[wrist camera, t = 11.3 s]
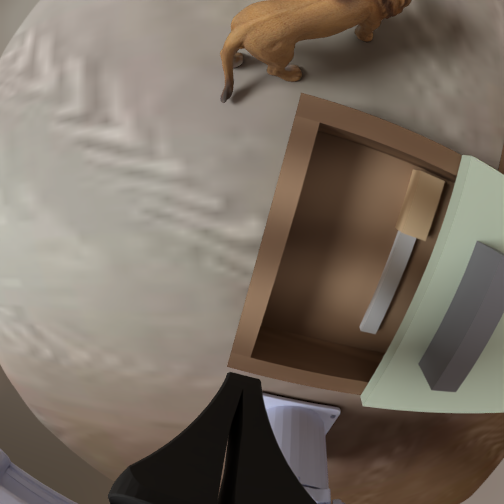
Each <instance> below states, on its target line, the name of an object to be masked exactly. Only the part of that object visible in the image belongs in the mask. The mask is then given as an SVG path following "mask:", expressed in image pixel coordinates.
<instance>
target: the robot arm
mask: <svg viewBox="0 0 504 504" xmlns="http://www.w3.org/2000/svg"><path fill="white" fill-rule="evenodd" d="M340 413H341V411H340V408H338V407H333V406H327V405H321V404H315V403H309V402H304V401H299V400H294V399H289V398H284V397H279V396H275V395H270V394H266V393H262V387H261V381H260V380H259V379H256V378H252V377H248V376H244V375H240V374H236V373H232V372H229V373H227V376H226V378H225V380H224V382H223V384H222V386H221V388H220V389H219V391H218V392H217V394H216V395H215V397H214V398H213V399H212V401H211V402H210V403H209V405H208V406H207V407H206V408H205V409H204V410H203V412H202V413H201V414H200V415H199V416H198V417H197V418H196V419H195V420H194V421H193V422H192V423H191V424H190V425H189V426H188V427H187V428H186V429H185V430H184V431H182V432H181V433H180V434H179V435H178V436H176V437H175V438H174V439H173V440H171V441H170V442H169V443H167V444H166V445H164V446H163V447H161V448H160V449H158V450H157V451H155V452H154V453H152V454H151V455H149V456H147V457H145V458H143V459H142V460H140V461H138V462H136V463H134V464H132V465H130V466H129V467H128V468H127V469H126V470H125V471H124V472H123V473H122V474H121V475H120V476H119V477H118V478H117V479H116V481H115V482H114V484H113V486H112V488H111V490H110V492H109V494H108V498H109V501H110V504H331V497H330V489H329V487H328V469H327V453H326V439H325V435H326V434H327V432H328V431H329V430H330V428H331V427H332V425H333V424H334V422H335V421H336V419H337V418H338V416H339V415H340ZM228 435H229V436H228ZM227 441H228V444H227ZM226 446H227V453H226V461H225V469H224V475H223V479H222V484H221V488H220V492H219V487H220V481H221V475H222V469H223V463H224V457H225V452H226ZM218 494H219V496H218ZM0 504H77V503H75V502H74V501H72V500H70V499H68V498H66V497H64V496H62V495H61V494H59V493H57V492H56V491H54V490H52V489H51V488H49V487H47V486H46V485H44V484H43V483H41V482H39V481H38V480H36V479H35V478H33V477H32V476H30V475H28V474H27V473H26V472H24V471H23V470H22V469H20V468H19V467H17V466H16V465H15V464H13V463H12V462H11V461H10V459H9V457H8V456H7V455H6V454H5V453H4V452H3V451H2V450H1V449H0ZM333 504H345V503H344V502H342V501H341V500H340V499H334V500H333Z"/></svg>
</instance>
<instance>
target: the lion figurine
mask: <svg viewBox="0 0 504 504" xmlns="http://www.w3.org/2000/svg"><path fill="white" fill-rule="evenodd" d="M411 1H412V0H268V1H261V2H257V3H253V4H251V5H249V6H247V7H246V8H245V9H243V10H242V11H241V12H239V13H238V14H237V15H236V16H235V17H234V18H233V20H232V23H231V33H230V34H229V36H228V37H227V39H226V41H225V43H224V46H223V49H222V50H221V52H220V55H221V60H222V66H223V70H224V74H225V88H224V90H223V93H222V95H221V102H222V103H225V102H226V101H227V99H229V98H230V97H231V95H232V92H233V84H234V79H233V68H235V67H238V66H239V65H240V64H242V62H243V55H242V54H241V53H238V52H237V51H238V50H239V49H243V48H246V50H247V51H248V52H249V53H250V54H251V55H252V56H254V57H255V58H256V59H258V60H260V61H262V62H263V63H265V64H267V65H268V68H267V72H268V74H270V75H274V76H278V77H280V78H282V79H284V80H286V81H291V82H294V81H298V80H300V78H301V76H302V72H301V70H300V69H299V67H298V66H297V65H288V64H289V62H290V61H291V60H292V58H293V56H294V48H295V44H296V43H297V42H298V41H301V40H307V39H316V38H324V37H328V36H332V35H335V34H338V33H340V32H342V31H344V30H346V29H349V28H352V27H354V26H356V25H358V26H357V28H356V29H355V34H356V36H357V37H358V39H360V40H362V41H365V42H369V41H371V40H372V38H373V32H372V31H374V30H375V29H377V28H378V27H379V26H380V24H381V20H383V19H384V18H386V19H388V18H390V17H393V16H396V15H397V14H399V13H401V12H402V11H403V8H404V7H407V6H408V5H409V4H410V3H411ZM287 65H288V66H287Z"/></svg>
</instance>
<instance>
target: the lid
mask: <svg viewBox="0 0 504 504" xmlns="http://www.w3.org/2000/svg"><path fill="white" fill-rule="evenodd" d="M361 401H362V405H363V406H366V407H374V408H383V409H393V410H404V411H418V412H436V413H499V412H504V175H503V174H502V173H500V172H499V171H497V170H495V169H494V168H492V167H490V166H489V165H487V164H485V163H484V162H482V161H480V160H478V159H477V158H475V157H473V156H468V155H462V158H461V162H460V166H459V170H458V174H457V178H456V182H455V185H454V189H453V192H452V196H451V199H450V202H449V205H448V209H447V212H446V215H445V218H444V221H443V224H442V227H441V230H440V233H439V236H438V238H437V241H436V244H435V246H434V249H433V252H432V254H431V257H430V260H429V262H428V265H427V267H426V270H425V272H424V274H423V277H422V279H421V281H420V284H419V286H418V288H417V291H416V293H415V295H414V297H413V300H412V302H411V304H410V306H409V308H408V310H407V312H406V315H405V317H404V319H403V321H402V323H401V325H400V327H399V329H398V331H397V333H396V335H395V337H394V338H393V340H392V342H391V344H390V346H389V348H388V350H387V352H386V353H385V355H384V357H383V359H382V361H381V362H380V364H379V366H378V368H377V369H376V371H375V373H374V374H373V376H372V378H371V380H370V381H369V383H368V385H367V386H366V388H365V389H364V391H363V393H362V394H361Z"/></svg>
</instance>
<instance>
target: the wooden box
mask: <svg viewBox="0 0 504 504" xmlns="http://www.w3.org/2000/svg"><path fill="white" fill-rule="evenodd" d="M461 158H462V155H460V154H458V153H456V152H454V151H453V150H451V149H449V148H447V147H445V146H443V145H440V144H438V143H436V142H434V141H432V140H430V139H428V138H426V137H423V136H421V135H419V134H417V133H415V132H412V131H410V130H408V129H405V128H403V127H400V126H398V125H396V124H393V123H391V122H388V121H386V120H383V119H380V118H378V117H375V116H372V115H370V114H367V113H364V112H361V111H359V110H356V109H353V108H350V107H347V106H344V105H341V104H338V103H335V102H331V101H328V100H325V99H321V98H318V97H315V96H311V95H307V94H304V93H301V96H300V100H299V103H298V107H297V111H296V115H295V119H294V122H293V126H292V130H291V134H290V137H289V141H288V145H287V149H286V152H285V156H284V160H283V164H282V167H281V171H280V175H279V179H278V182H277V186H276V190H275V193H274V197H273V201H272V205H271V208H270V212H269V216H268V219H267V223H266V227H265V230H264V234H263V238H262V242H261V245H260V249H259V253H258V256H257V260H256V264H255V267H254V271H253V275H252V278H251V282H250V285H249V289H248V293H247V296H246V300H245V304H244V307H243V311H242V315H241V318H240V322H239V325H238V329H237V333H236V336H235V340H234V343H233V347H232V351H231V354H230V358H229V361H228V365H227V367H230V368H234V369H238V370H242V371H245V372H249V373H253V374H257V375H261V376H265V377H269V378H274V379H278V380H282V381H287V382H292V383H296V384H301V385H306V386H311V387H316V388H321V389H327V390H333V391H338V392H344V393H351V394H357V395H361V394H362V393H363V391H364V389H365V388H366V386H367V385H368V383H369V381H370V380H371V378H372V376H373V374H374V373H375V371H376V369H377V368H378V366H379V364H380V362H381V361H382V359H383V357H384V355H385V353H386V352H387V350H388V348H389V346H390V344H391V342H392V340H393V338H394V337H395V335H396V333H397V331H398V329H399V327H400V325H401V323H402V321H403V319H404V317H405V315H406V312H407V310H408V308H409V306H410V304H411V302H412V300H413V297H414V295H415V293H416V291H417V288H418V286H419V284H420V281H421V279H422V277H423V274H424V272H425V270H426V267H427V265H428V262H429V260H430V257H431V254H432V252H433V249H434V246H435V244H436V241H437V238H438V236H439V233H440V230H441V227H442V224H443V221H444V218H445V215H446V212H447V209H448V205H449V202H450V199H451V196H452V192H453V189H454V185H455V182H456V178H457V174H458V170H459V166H460V162H461ZM498 171H499V172H500V173H502V174H503V175H504V145H503V150H502V155H501V160H500V165H499V169H498Z"/></svg>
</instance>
